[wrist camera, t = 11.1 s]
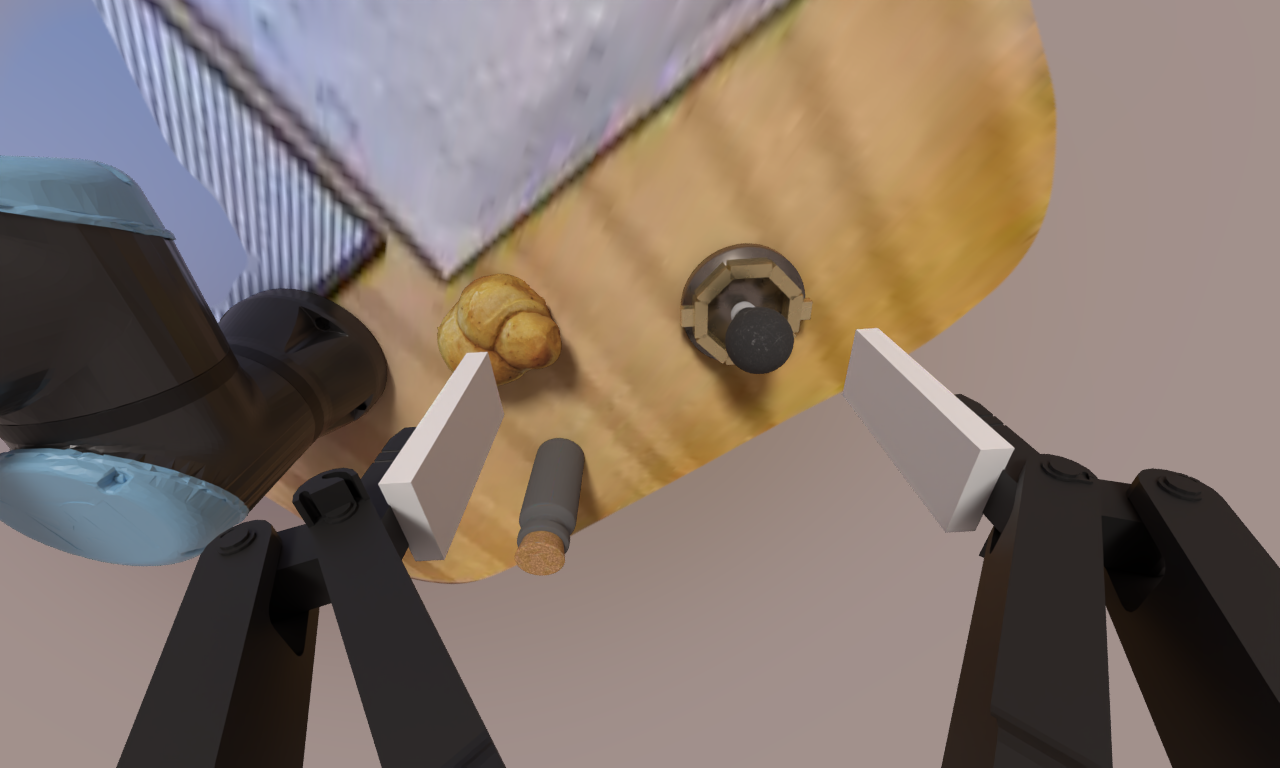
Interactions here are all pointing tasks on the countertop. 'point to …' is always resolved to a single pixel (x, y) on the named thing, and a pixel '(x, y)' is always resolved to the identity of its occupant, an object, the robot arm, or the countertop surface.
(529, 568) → the bottle
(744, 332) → the light bulb
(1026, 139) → the countertop surface
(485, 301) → the bread roll
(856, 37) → the countertop surface
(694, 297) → the octagonal rimmed dish
